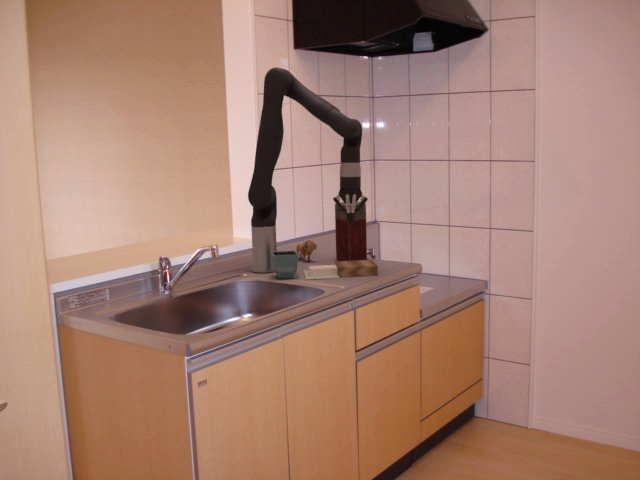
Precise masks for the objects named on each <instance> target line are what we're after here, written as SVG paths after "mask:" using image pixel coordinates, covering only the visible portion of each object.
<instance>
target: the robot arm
mask: <svg viewBox="0 0 640 480" xmlns="http://www.w3.org/2000/svg"><path fill="white" fill-rule="evenodd" d="M263 81H264V82H263V98H262V109H261V113H260V121H259V127H258V134H257V137H256V138H257V139H256V149H255V156H254V166H253V173H252V177H251V182H250V185H249V189H248V191H247V192H248V193H247V199H248V202H249V203H250V206H251V207H252V216H251V220H250V226H251V227H250V228H251V250H252V252H251V253H252V272H253V273H259V274H260V273H261V274H262V273H264V274H265V273H273V272H274V273H275V270H274V267H273V262H272V255H271V252H278V246H277V243H278V242H277V217H278V216H277V215H278V210H277V209H278V208H277V207H278V205H277V202H278V201H277V192H276V189H275V187H274V186H273V177H274V176H273V175H274V171H275V168H276V165H277V163H278V160H279V157H280V155H281V151H282V146H283V141H284V134H285V133H284V130H285V128H284V119H283V104H284V103H283V102H284V97H287V98H289V99H292V100H293V101H295V102H296V103H298V104H299V105H301V106H302V107H303V108H304V109H305V110H306V111H308V113H309V114H311V115H312V116H313V117H315V118H316V119H318V120H319V121H320V122H322V123H324V124H325V125H327V126H328V127H329V128H330V129H332V130H333V132H335V133H337V135H339V136H340V137H342V138H343V145H342V147H341V148H340V163H339V164H340V165H339V191H338V194H337V195H336V196H335V197H333V198H332V200H333V201H334V203H335V204H337V205H338V207H339V208H340V209H341V210H342V211H343V212H346V221H347V222H348V223H352V222H354V213H355V212H357V211H359V210H360V209H361V208H362V206H363V205H364V204H366V203H367V201H368V200H369V199H368V197H366V196H365V195H364V194H363V192H362V188H361V187H362V174H361V173H362V171H361V170H362V169H361V168H362V167H361V146H362V140H363V127H362V123H361V122H360V120H358V119H355V118H350V117H349V116H347V115H346V114H344V113H343V112H341V110H340V109H339V108H338V107H336V106H335V105H334V104H332V103H331V102H329V101H327V100H326V99H325V98H323V97H321V96H319V95H318V94H317V93H315V92H314V91H312V90H310V89H309V88H308V87H307V86H305V85H304V84H303V83H302V82H300V80H299V79H297V77H295V75H293V73H291V72H290V71H289V70H287V69H286V68H283V67H282V68H281V67H272V68H270V69H269V70H268V71H267V72H266V74H265V76H264V80H263ZM359 200H360V201H359ZM341 201H342V202H344V203H345V206H346V208H344V207H343V206H342V205H341V203H340V202H341ZM356 202H360V203H359V204H358V206H357V207H356V208H355V203H356ZM350 203H351V211H350Z"/></svg>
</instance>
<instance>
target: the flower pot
mask: <svg viewBox="0 0 640 480" xmlns="http://www.w3.org/2000/svg"><path fill="white" fill-rule="evenodd" d="M271 255H272V262H273V267H274V270H275V271H274V273H275V274H276V277H277V278H278V279H280V280H281V279H293V278H294V276H295V275H296V272H297V268H298V261H299V260H298V258H299V254H297V251H295V250H286V251H284V250H283V251H282V250H281V251H277V252H271Z"/></svg>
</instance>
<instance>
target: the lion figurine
mask: <svg viewBox="0 0 640 480" xmlns="http://www.w3.org/2000/svg"><path fill="white" fill-rule="evenodd" d="M317 248H318V244H316V243H315V242H314V240H313V239H308V240H306V241H305V242H304V243H302V242H299V243H297V245H296V247H295V249H296V253H297V254H298V255H299V257H298V261H299V260H300V259H302V262H303V263H307V262H312V260H311V255H312V254H313V253H314V251H315V250H317ZM306 256H307V259H306Z"/></svg>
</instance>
